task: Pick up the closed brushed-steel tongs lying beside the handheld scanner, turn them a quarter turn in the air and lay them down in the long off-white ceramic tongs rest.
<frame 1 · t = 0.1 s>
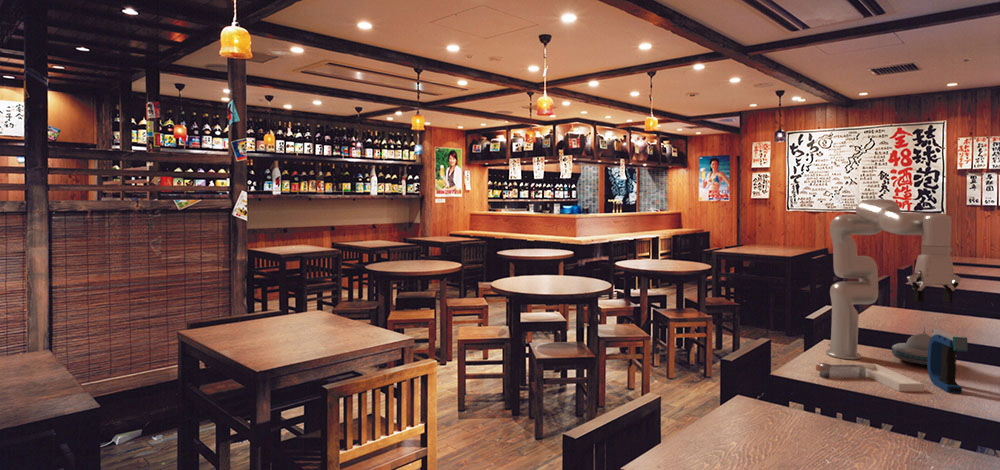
hand: (933, 301, 181), 31 cm above the table, tool pointing down, fingers open, 9 cm apart
tongs rest: (886, 380, 195), on the table
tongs: (843, 376, 199), on the table
toy: (922, 364, 216), on the table
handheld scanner: (945, 388, 187), on the table
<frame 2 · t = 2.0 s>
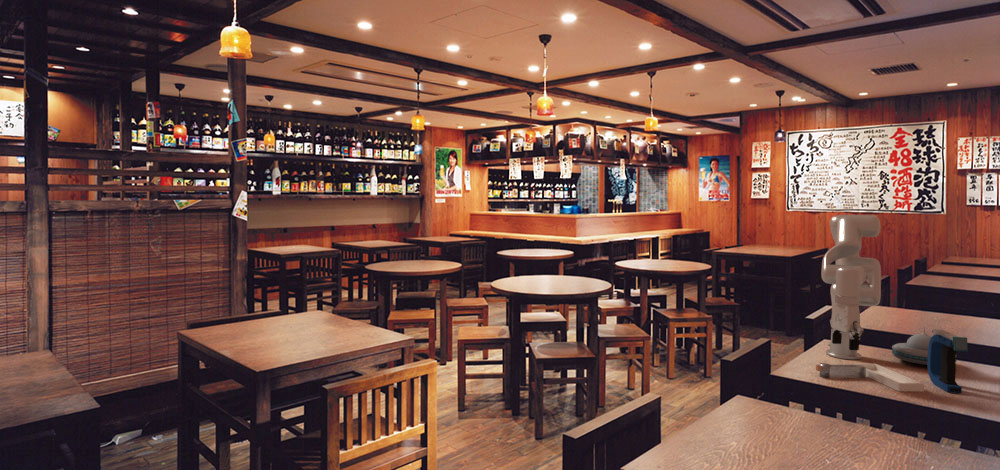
hand: (845, 346, 198), 11 cm above the table, tool pointing down, fingers open, 9 cm apart
nothing on the table moved.
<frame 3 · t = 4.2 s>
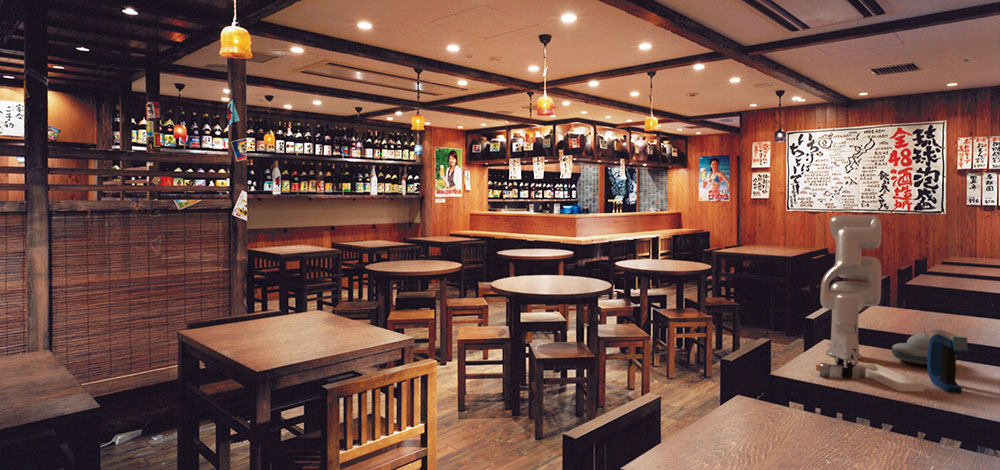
hand: (843, 375, 199), 0 cm above the table, tool pointing down, fingers closed on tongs, 3 cm apart
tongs: (843, 376, 199), on the table, touching gripper
everything else where it was.
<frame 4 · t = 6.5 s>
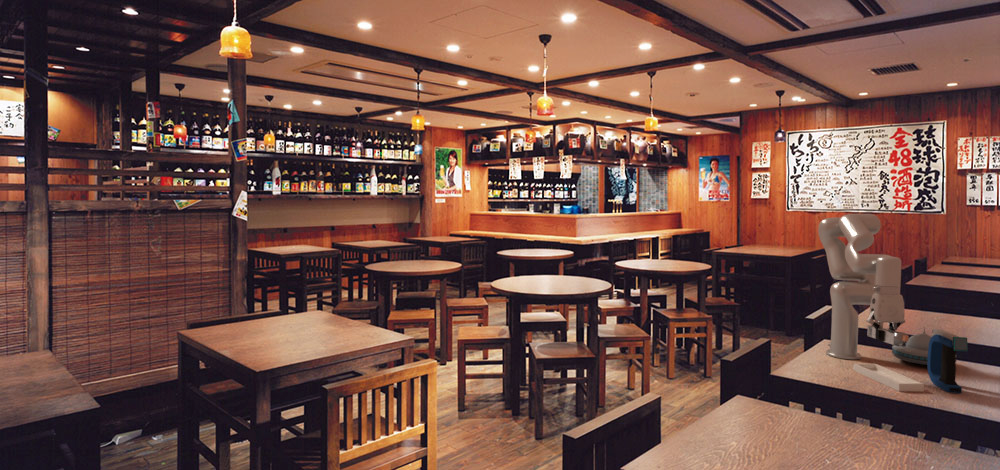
hand: (885, 339, 196), 14 cm above the table, tool pointing down, fingers closed on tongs, 3 cm apart
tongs: (885, 340, 196), point 14 cm above the table, touching gripper
everything else where it was.
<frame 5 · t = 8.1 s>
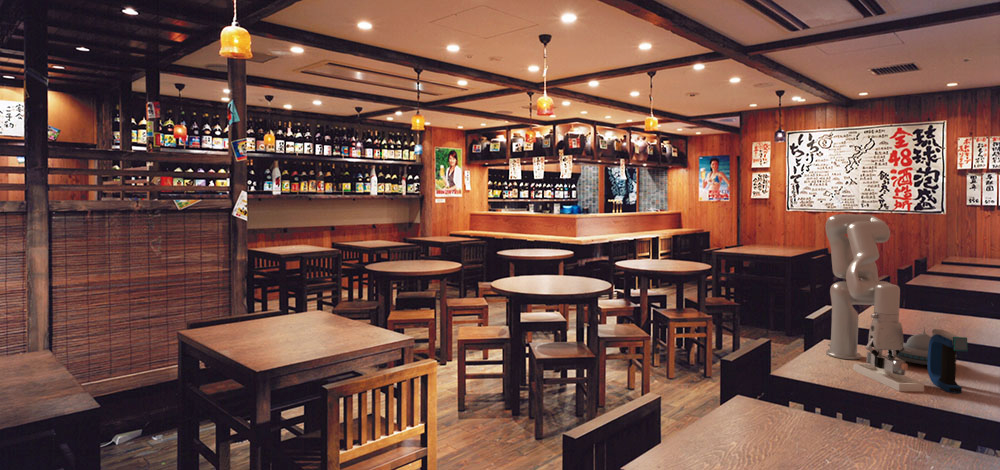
hand: (884, 367, 196), 4 cm above the table, tool pointing down, fingers closed on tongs, 3 cm apart
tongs: (884, 367, 196), point 4 cm above the table, touching gripper
everything else where it was.
when the fingers open (3 cm above the table, at t = 9.2 s): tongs drops 2 cm, resting on tongs rest.
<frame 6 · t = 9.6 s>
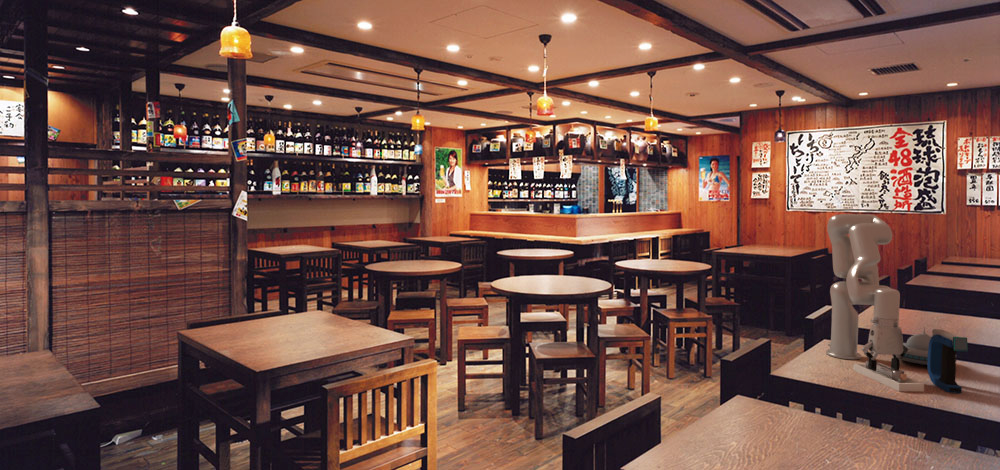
hand: (883, 369, 197), 3 cm above the table, tool pointing down, fingers open, 7 cm apart
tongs: (883, 377, 197), point 1 cm above the table, touching tongs rest
everything else where it was.
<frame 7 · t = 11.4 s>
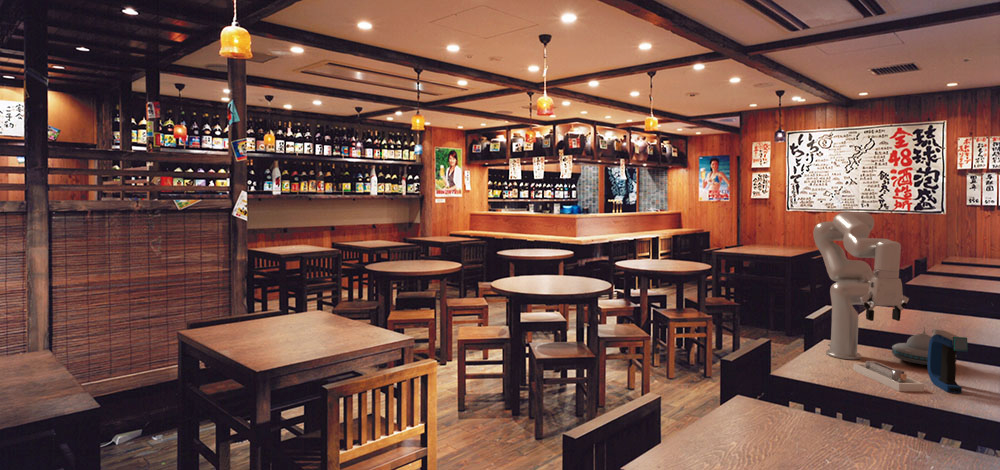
hand: (882, 320, 199), 21 cm above the table, tool pointing down, fingers open, 9 cm apart
nothing on the table moved.
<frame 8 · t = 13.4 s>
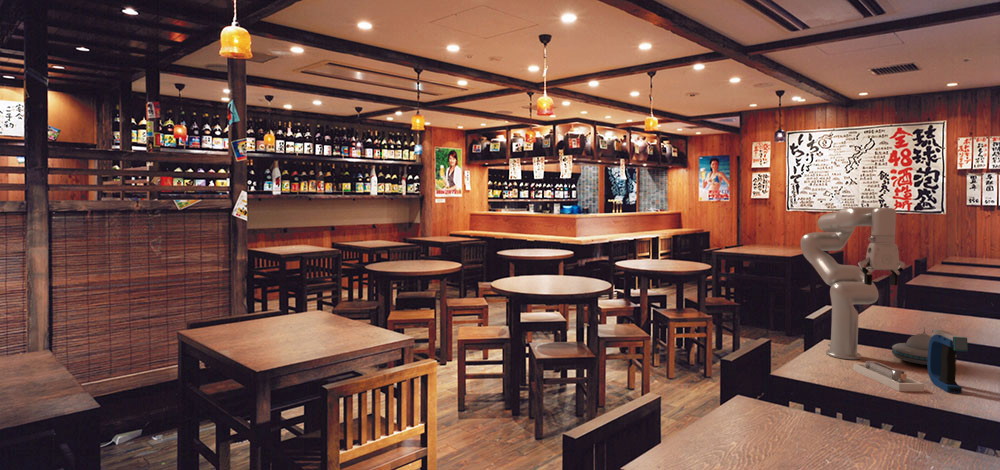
hand: (880, 284, 205), 33 cm above the table, tool pointing down, fingers open, 9 cm apart
nothing on the table moved.
at the end: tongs inside the target area on the tongs rest (0.7 cm from its centre), point 0.6 cm above the tongs rest's base; the gripper is holding nothing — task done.
